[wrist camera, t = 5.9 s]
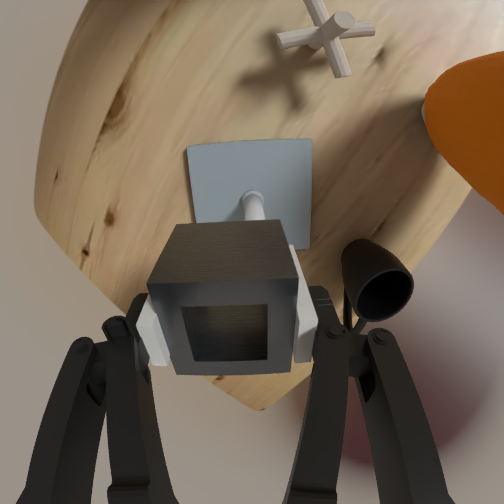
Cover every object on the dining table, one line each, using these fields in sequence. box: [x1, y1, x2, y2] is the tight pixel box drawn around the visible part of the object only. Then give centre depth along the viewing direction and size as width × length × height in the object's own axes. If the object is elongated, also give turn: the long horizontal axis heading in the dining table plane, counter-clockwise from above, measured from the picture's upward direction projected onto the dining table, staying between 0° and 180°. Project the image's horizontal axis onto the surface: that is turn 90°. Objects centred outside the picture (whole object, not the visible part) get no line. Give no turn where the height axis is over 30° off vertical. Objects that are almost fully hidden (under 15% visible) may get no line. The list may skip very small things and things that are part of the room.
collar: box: [146, 219, 299, 375], centre depth 14 cm, size 6×6×6 cm
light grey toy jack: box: [276, 0, 375, 78], centre depth 19 cm, size 10×10×10 cm
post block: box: [187, 139, 312, 250], centre depth 29 cm, size 14×14×8 cm
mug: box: [341, 239, 414, 334], centre depth 34 cm, size 8×12×10 cm
